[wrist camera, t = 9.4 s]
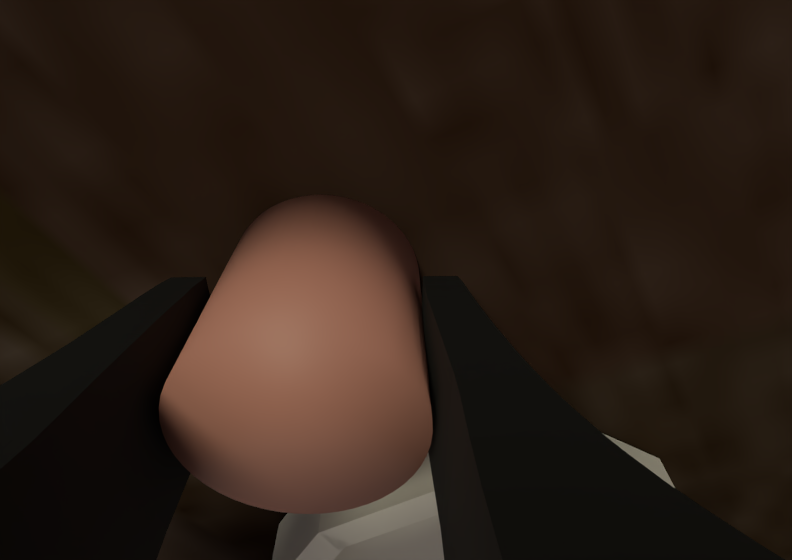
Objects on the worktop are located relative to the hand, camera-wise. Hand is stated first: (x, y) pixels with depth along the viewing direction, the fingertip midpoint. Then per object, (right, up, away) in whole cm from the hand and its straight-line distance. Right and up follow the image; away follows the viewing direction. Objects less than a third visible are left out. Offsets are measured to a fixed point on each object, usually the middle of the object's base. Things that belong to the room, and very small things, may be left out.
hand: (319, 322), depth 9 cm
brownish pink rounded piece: (0, +1, +1) cm, 1 cm away
